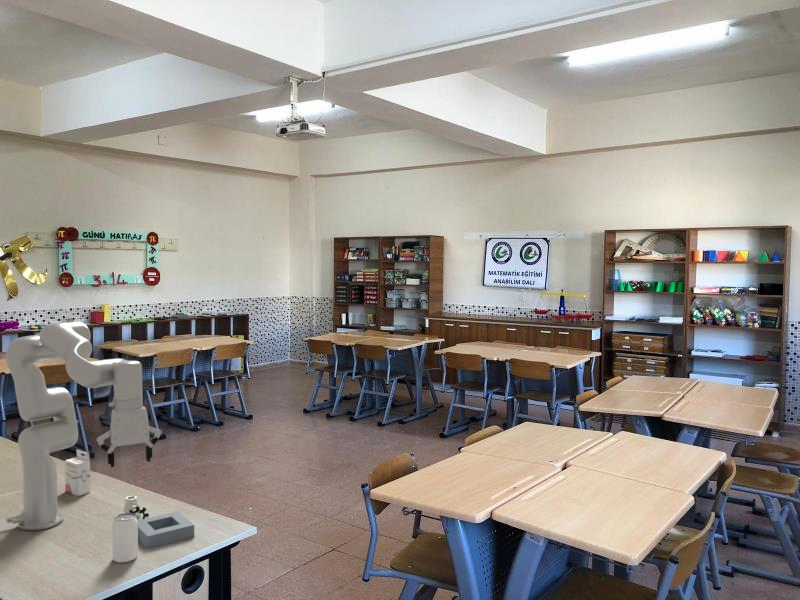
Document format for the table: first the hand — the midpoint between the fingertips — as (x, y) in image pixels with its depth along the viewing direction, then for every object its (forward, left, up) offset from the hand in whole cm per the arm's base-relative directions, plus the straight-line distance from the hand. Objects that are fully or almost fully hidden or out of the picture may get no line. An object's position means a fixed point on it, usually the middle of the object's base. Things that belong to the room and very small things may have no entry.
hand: (130, 463), depth 187 cm
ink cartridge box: (-1, +62, -26) cm, 67 cm away
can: (-3, -4, -26) cm, 26 cm away
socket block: (+11, +6, -26) cm, 29 cm away
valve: (+7, +22, -26) cm, 35 cm away
